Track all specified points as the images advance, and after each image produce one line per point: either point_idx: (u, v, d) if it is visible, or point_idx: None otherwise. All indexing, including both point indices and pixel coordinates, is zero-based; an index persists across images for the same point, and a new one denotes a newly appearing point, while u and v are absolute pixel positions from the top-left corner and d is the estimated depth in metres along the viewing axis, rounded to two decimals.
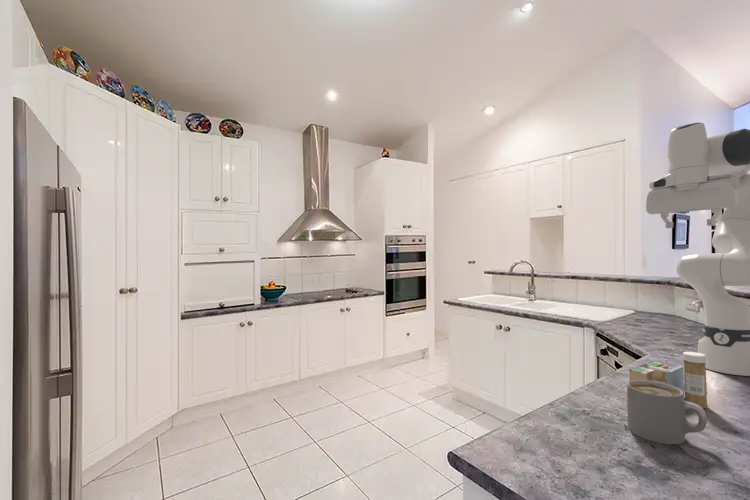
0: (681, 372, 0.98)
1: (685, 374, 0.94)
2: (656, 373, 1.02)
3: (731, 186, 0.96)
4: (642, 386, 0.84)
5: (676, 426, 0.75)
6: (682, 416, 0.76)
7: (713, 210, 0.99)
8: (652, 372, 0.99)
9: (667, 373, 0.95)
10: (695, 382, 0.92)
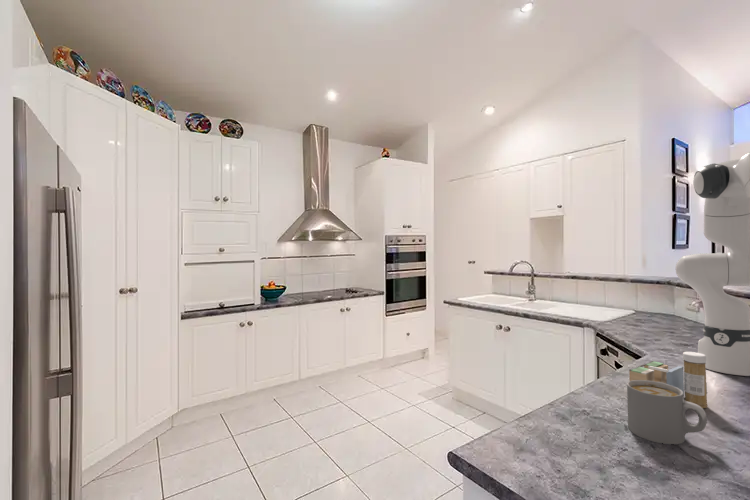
0: (681, 372, 0.98)
1: (685, 374, 0.94)
2: (656, 373, 1.02)
3: None
4: (642, 386, 0.84)
5: (676, 426, 0.75)
6: (682, 416, 0.76)
7: None
8: (652, 372, 0.99)
9: (667, 373, 0.95)
10: (695, 382, 0.92)
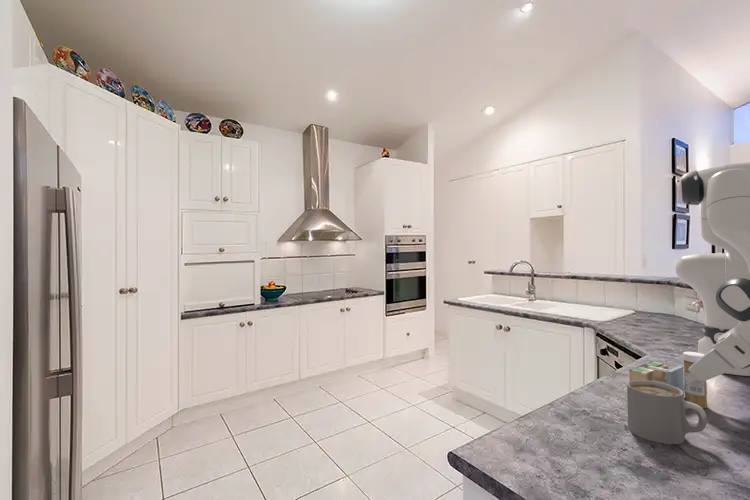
0: (681, 372, 0.98)
1: (685, 374, 0.94)
2: (656, 373, 1.02)
3: None
4: (642, 386, 0.84)
5: (676, 426, 0.75)
6: (682, 416, 0.76)
7: None
8: (652, 372, 0.99)
9: (667, 373, 0.95)
10: (695, 382, 0.92)
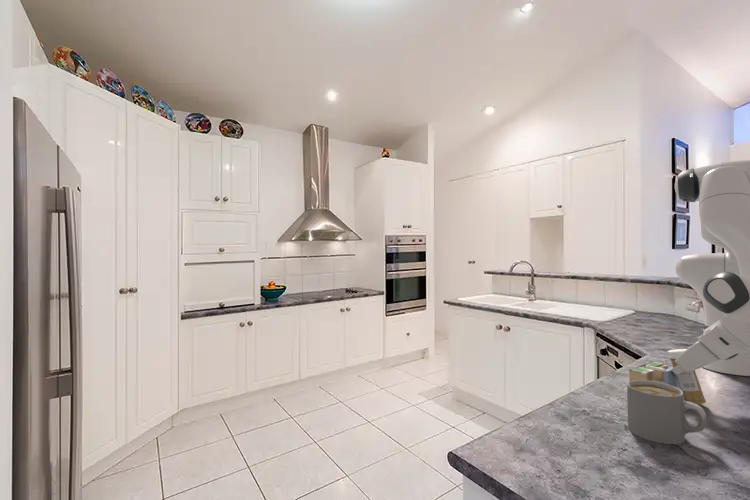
0: None
1: None
2: (656, 373, 1.02)
3: None
4: (642, 386, 0.84)
5: (676, 426, 0.75)
6: (682, 416, 0.76)
7: None
8: (652, 372, 0.99)
9: (664, 372, 0.96)
10: (686, 378, 0.94)
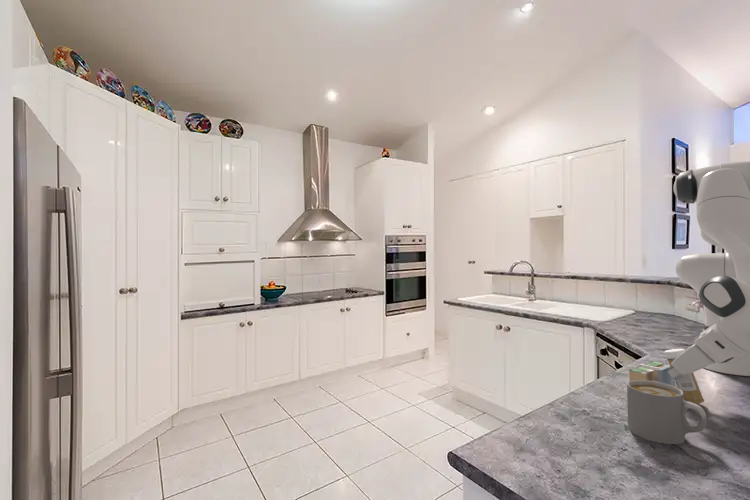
0: None
1: None
2: (656, 373, 1.02)
3: None
4: (642, 386, 0.84)
5: (676, 426, 0.75)
6: (682, 416, 0.76)
7: None
8: (652, 372, 0.99)
9: (658, 371, 0.97)
10: (683, 378, 0.94)
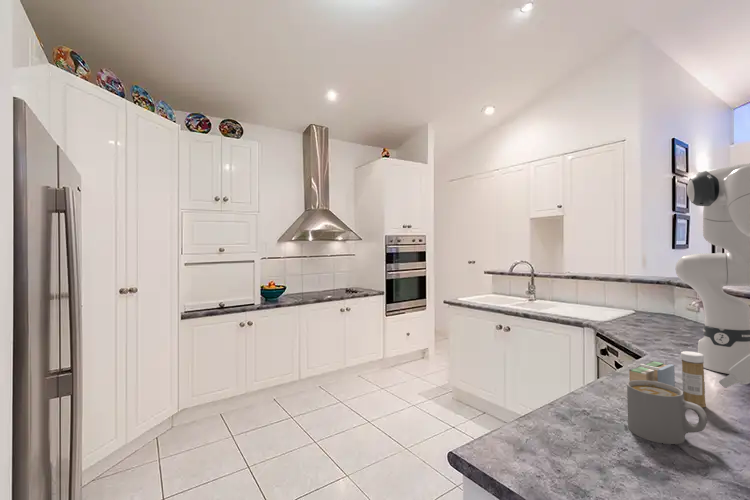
0: (672, 370, 1.00)
1: (683, 373, 0.95)
2: (656, 373, 1.02)
3: None
4: (642, 386, 0.84)
5: (676, 426, 0.75)
6: (682, 416, 0.76)
7: None
8: (652, 372, 0.99)
9: (658, 371, 0.97)
10: (692, 382, 0.92)
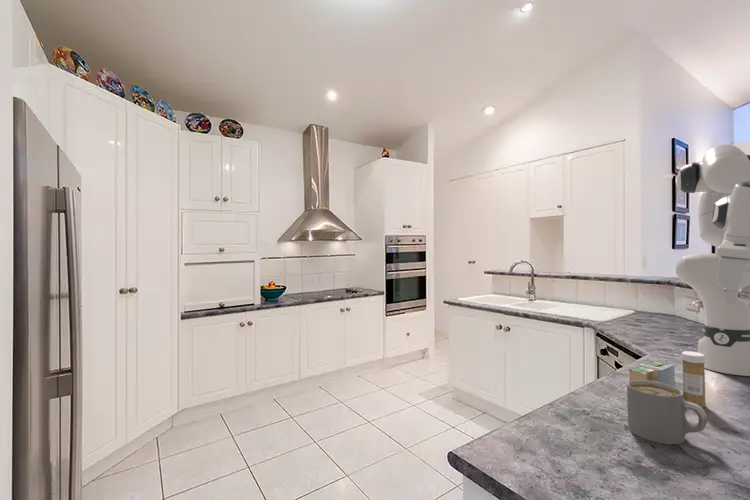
0: (672, 370, 1.00)
1: (683, 373, 0.94)
2: (656, 373, 1.02)
3: None
4: (642, 386, 0.84)
5: (676, 426, 0.75)
6: (682, 416, 0.76)
7: None
8: (652, 372, 0.99)
9: (658, 371, 0.97)
10: (693, 382, 0.92)
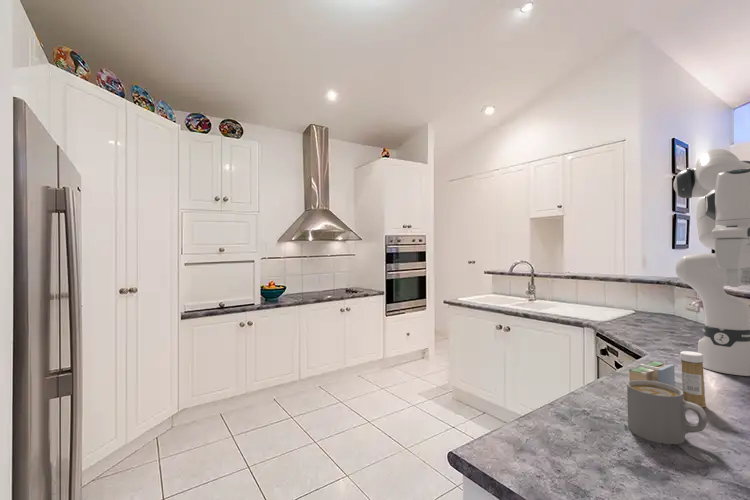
0: (672, 370, 1.00)
1: (682, 373, 0.95)
2: (656, 373, 1.02)
3: None
4: (642, 386, 0.84)
5: (676, 426, 0.75)
6: (682, 416, 0.76)
7: None
8: (652, 372, 0.99)
9: (658, 371, 0.97)
10: (692, 381, 0.92)
